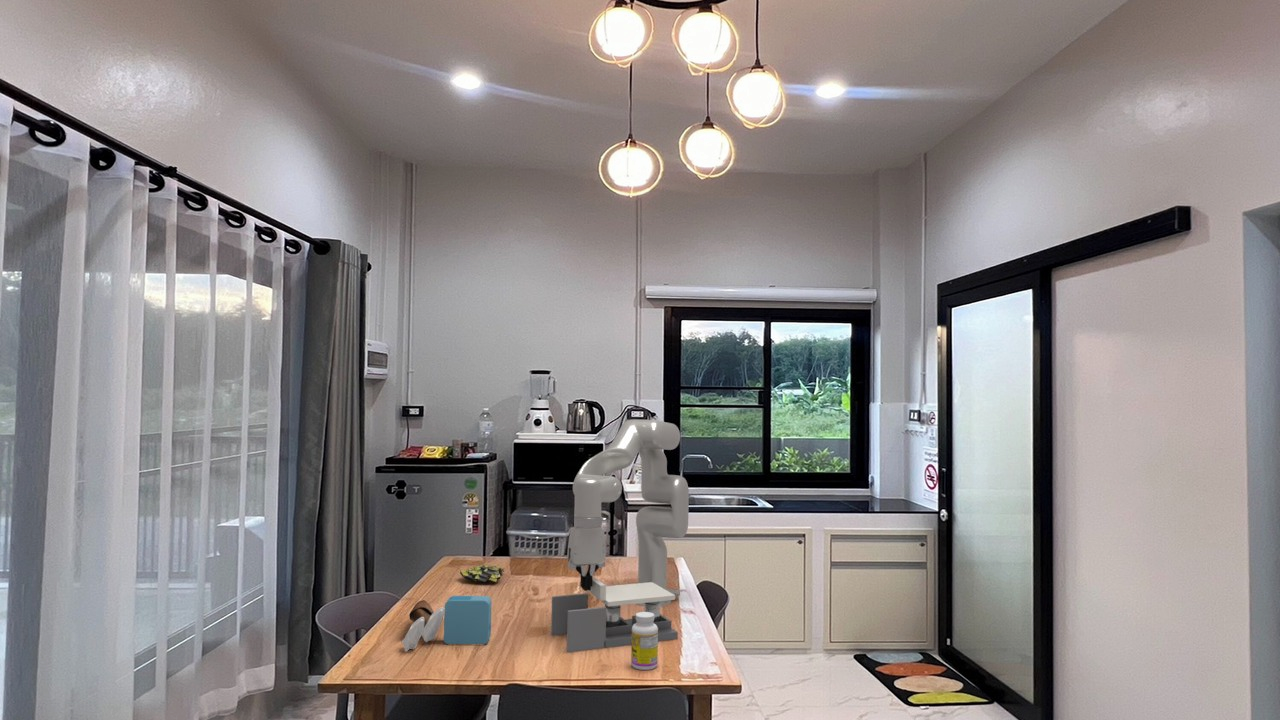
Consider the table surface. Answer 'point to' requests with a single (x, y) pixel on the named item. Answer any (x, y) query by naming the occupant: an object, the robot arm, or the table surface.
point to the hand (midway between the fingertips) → (586, 589)
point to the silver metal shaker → (653, 609)
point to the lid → (629, 593)
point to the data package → (467, 620)
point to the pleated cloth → (483, 573)
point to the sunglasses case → (421, 611)
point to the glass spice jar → (613, 615)
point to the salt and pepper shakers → (423, 629)
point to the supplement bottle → (644, 642)
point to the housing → (595, 625)
